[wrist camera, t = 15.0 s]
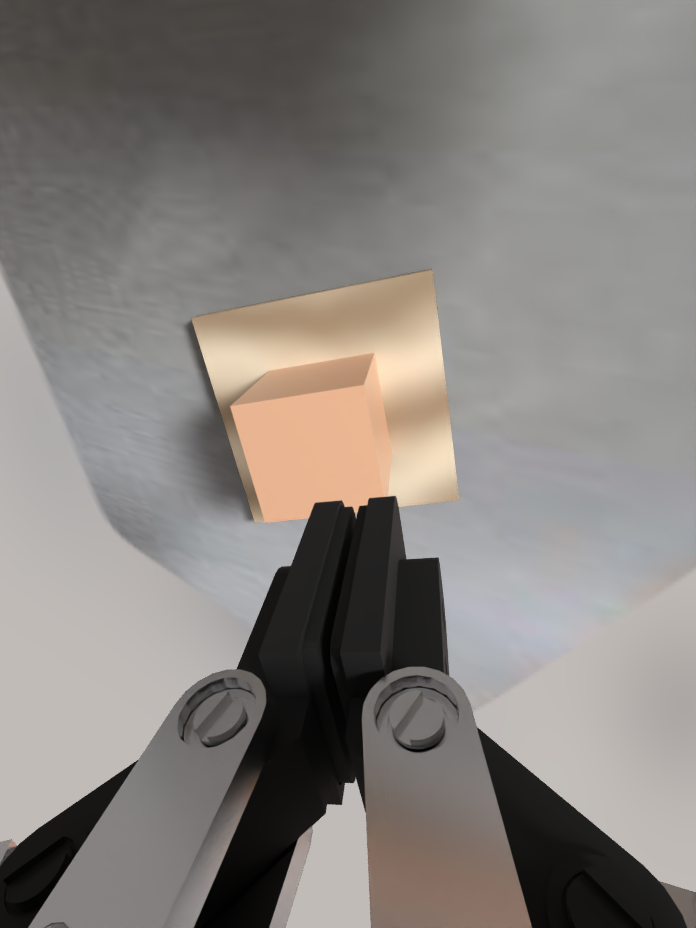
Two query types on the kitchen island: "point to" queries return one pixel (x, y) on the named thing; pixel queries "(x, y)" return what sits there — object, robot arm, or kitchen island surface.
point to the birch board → (339, 336)
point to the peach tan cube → (315, 436)
